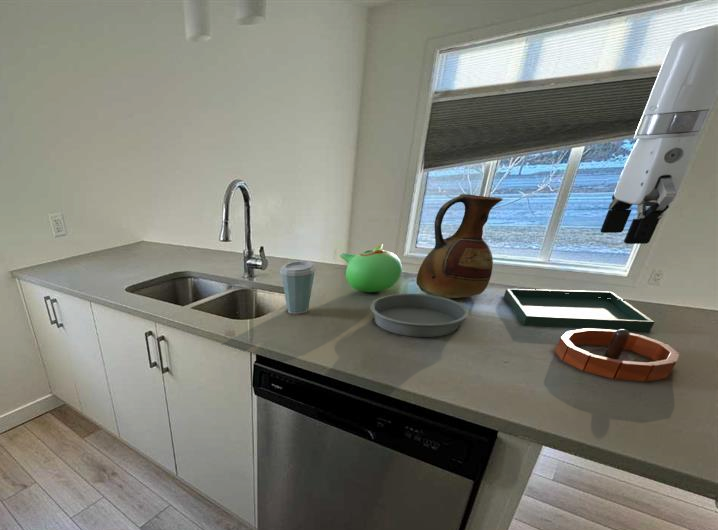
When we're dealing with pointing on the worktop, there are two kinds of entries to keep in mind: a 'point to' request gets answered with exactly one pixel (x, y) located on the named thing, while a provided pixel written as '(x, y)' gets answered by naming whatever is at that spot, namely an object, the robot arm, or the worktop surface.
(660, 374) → the ring
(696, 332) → the worktop surface
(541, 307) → the tray
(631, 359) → the post
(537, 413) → the worktop surface
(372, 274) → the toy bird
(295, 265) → the disposable coffee cup
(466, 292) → the ceramic pitcher
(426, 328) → the cake pan
